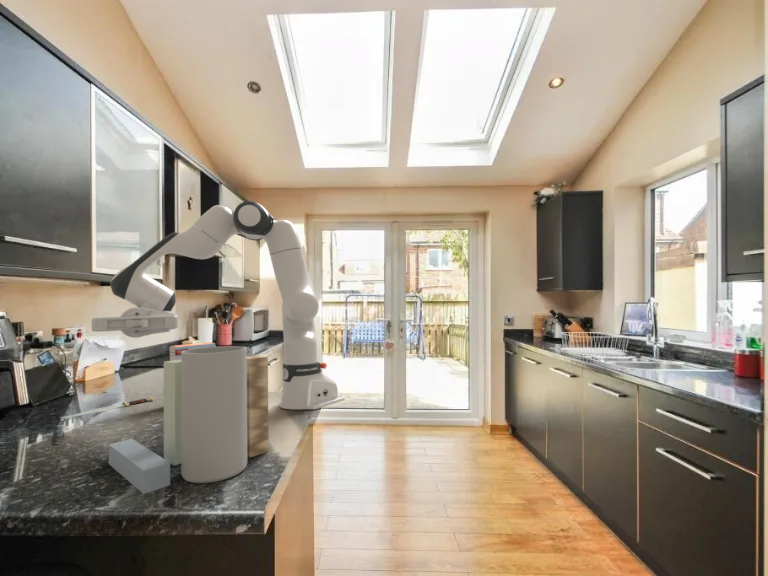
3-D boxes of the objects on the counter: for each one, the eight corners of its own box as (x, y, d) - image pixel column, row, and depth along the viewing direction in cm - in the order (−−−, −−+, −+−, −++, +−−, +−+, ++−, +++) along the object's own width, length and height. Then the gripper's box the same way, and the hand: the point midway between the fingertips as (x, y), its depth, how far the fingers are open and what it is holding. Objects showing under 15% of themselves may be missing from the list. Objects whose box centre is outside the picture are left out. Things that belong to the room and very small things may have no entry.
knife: (62, 419, 120) (58, 414, 123) (62, 424, 120) (58, 419, 124) (156, 399, 142) (150, 395, 145) (156, 403, 142) (150, 399, 145)
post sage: (183, 454, 90) (183, 358, 90) (194, 458, 87) (194, 360, 88) (163, 461, 86) (163, 361, 87) (175, 465, 83) (175, 362, 84)
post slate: (132, 438, 89) (170, 462, 74) (132, 458, 89) (170, 486, 74) (108, 444, 85) (143, 470, 71) (108, 465, 85) (143, 495, 71)
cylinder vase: (178, 490, 72) (178, 355, 73) (183, 465, 83) (183, 348, 84) (249, 477, 77) (248, 350, 78) (245, 455, 88) (244, 345, 89)
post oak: (260, 447, 93) (259, 355, 94) (268, 451, 90) (267, 356, 91) (241, 452, 90) (241, 357, 91) (249, 457, 87) (249, 358, 88)
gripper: (93, 312, 109) (88, 313, 97) (175, 310, 120) (179, 310, 108) (92, 335, 108) (87, 338, 97) (175, 331, 120) (179, 333, 108)
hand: (137, 323), depth 103 cm, fingers closed
